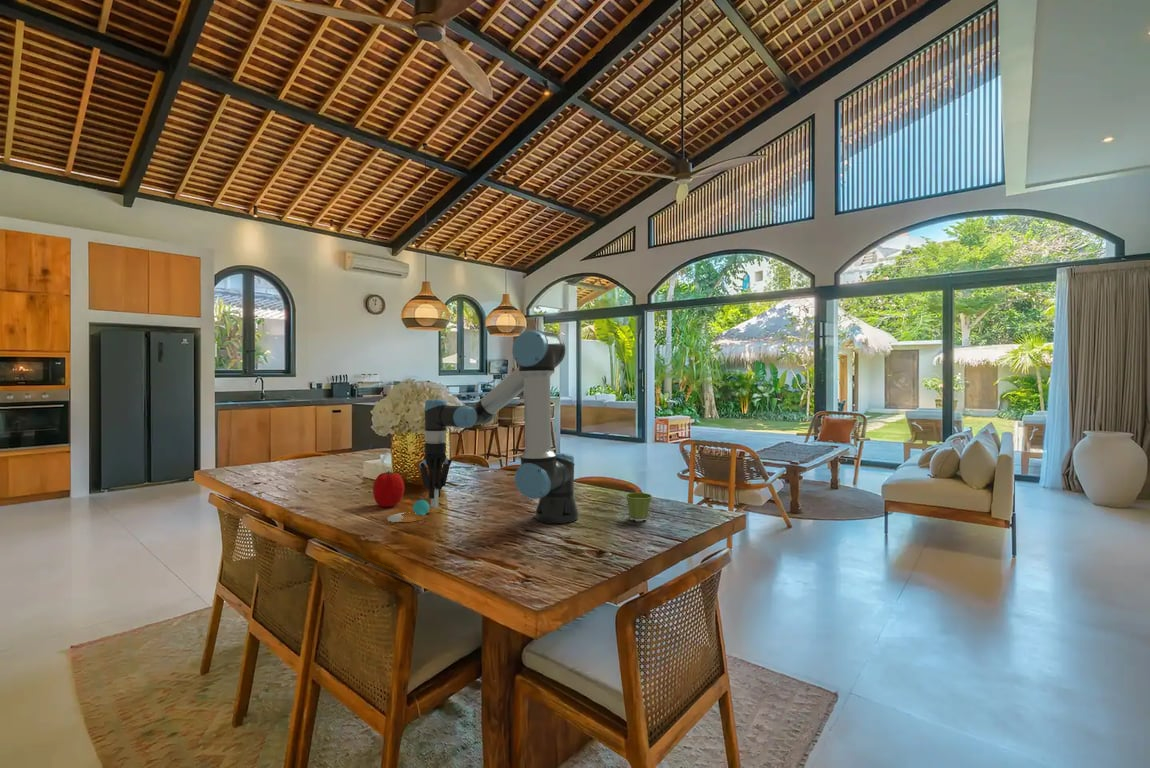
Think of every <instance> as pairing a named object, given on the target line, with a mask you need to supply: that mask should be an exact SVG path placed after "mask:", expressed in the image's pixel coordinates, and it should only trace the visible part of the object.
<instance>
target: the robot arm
mask: <svg viewBox="0 0 1150 768" xmlns="http://www.w3.org/2000/svg"><path fill="white" fill-rule="evenodd" d="M565 345H566V344H565V342H564V341H563V339H562V338H561V337H560V336H559V335H558V334H556V333H553V332H546V331H542V330H535V329H532V330H525V331H523V332H521V333H520V334H519V335H518V336H517V337H516V338H515V339H514V341H513V344H512V349H511V350H512V357H513V359H514V360H515V362H517V364H518V367H517V368H516V369H515V370H513V371H512V372H511V373H510V374H509V375H507V376H506V377H505V378H504V379H503V380H502V381H500V382H499V383H498V384H497V385H496V386H495V387H494V388H492V389H491V390H490V391H488V393H486V394H485V395H484V396H483V397H482V398H481V399H480V400H479V401H477V402H476V403H475V404H465V405H448V404H447V400H446V399H442V398H441V399H440V398H437V399H436V398H434V399H433V398H431V399H427V400H426V401H425V402H424V404H425V405H424V456H423V460H422V461H421V462H419V461H418V463H417V466H418V468H419V469H420V474H421V478H422V484H423V488H424V489H428V498H429V499H430V508H433V509H436V508H439V503H440V502H439V498H441V490H442V489H443V487H445V486H446V483H447V480H448V475H449V471H450V466H451V464H452V459H449V458H448V457H447V455H446V451H447V443H446V441H447V427H453V428H461V429H465V428H467V429H468V428H472V427H473V426H476V425H485V424H489V423H491V422H492V421H493V420H494V418H495V416H496V413H498V412H500V410H501V409H503V408H504V407H505V406H506V405H508V404H509V403H510V402H511V401H512V400H514V399H515V398H516V397H518V395H519V394H521V393H522V392H523V394H524V395H523V402H524V405H523V406H524V409H523V410H524V451H523V452H522V453H521V455H520V465H519V466H518V468H517V469H516V471H515V473H514V483H515V486H516V488H517V490H518V491H519V492H520V493H521V494H522V495H523V496H524V497H527V498H528V499H538V498H539V499H538V502H537V506H536V509H535V512H534V516H535V517H534V519H535V518H536V519H537V521H538V522H540V521H541V522H540V523H544V522H547V523H546V524H553V523H561V524H568V523H567V522H570V523H573V522H572V521H574V522H576V521H578V520H579V511H578V507H577V505H576V500H575V496H574V495H575V493H574V490H575V489H574V487H575V486H574V485H575V465H576V464H575V457H574V455H573V454H572V453H563V452H554V451H553V450H552V422H551V421H552V414H551V413H552V410H551V376H552V375H553V374H554V373H555V368H557V367H559V365H560V364H561V363H562V362H563V360H564V359H565V355H566V346H565ZM536 519H535V520H536ZM575 520H576V521H575Z"/></svg>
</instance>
